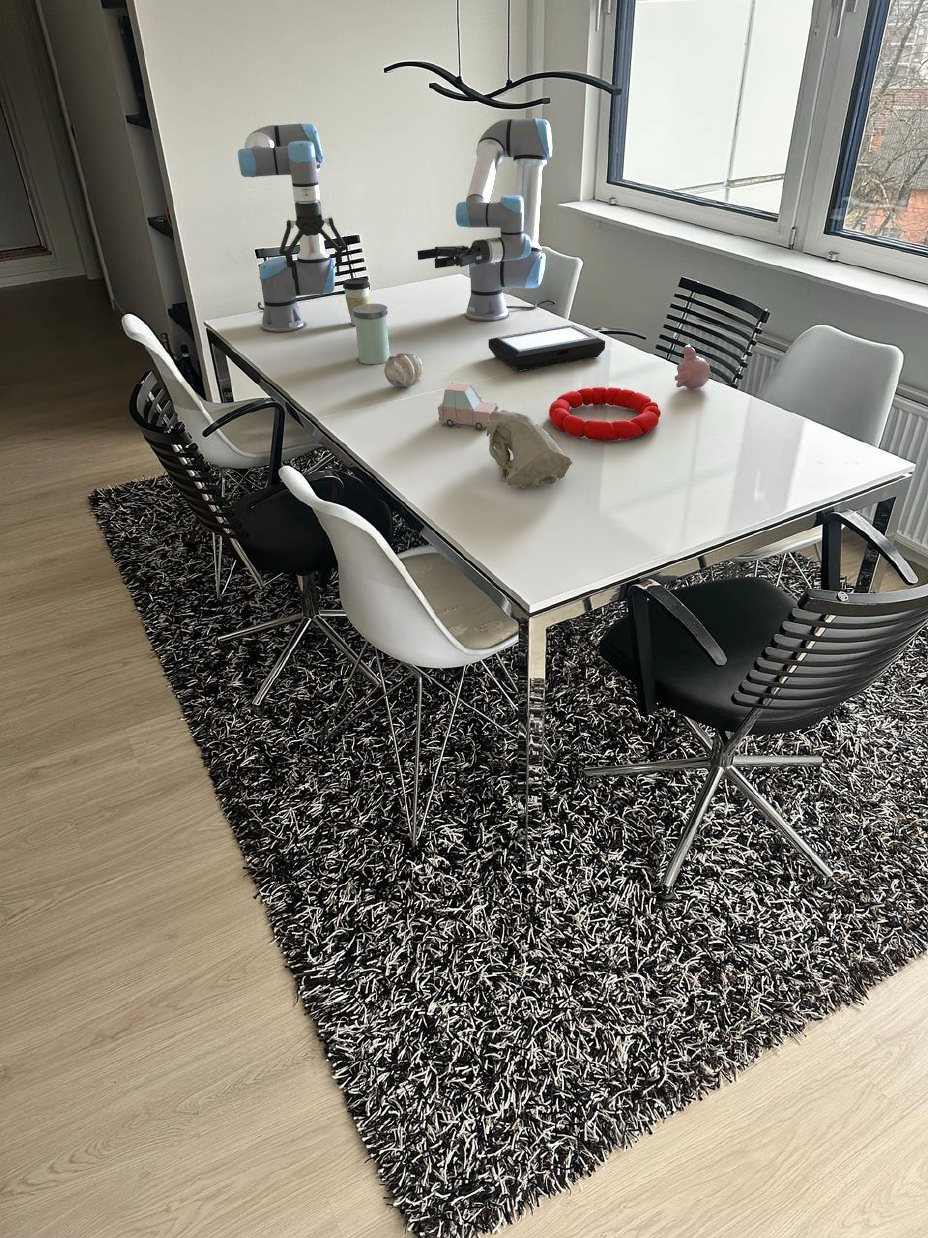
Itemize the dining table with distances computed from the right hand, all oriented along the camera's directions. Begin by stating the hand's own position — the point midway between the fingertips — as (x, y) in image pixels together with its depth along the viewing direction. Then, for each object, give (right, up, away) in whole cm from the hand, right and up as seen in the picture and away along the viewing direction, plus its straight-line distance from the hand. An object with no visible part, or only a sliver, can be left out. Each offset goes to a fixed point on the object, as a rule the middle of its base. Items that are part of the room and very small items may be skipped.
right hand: (426, 259), depth 284 cm
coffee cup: (-26, -6, +43) cm, 51 cm away
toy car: (+13, -61, -38) cm, 73 cm away
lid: (-18, -16, +1) cm, 24 cm away
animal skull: (+26, -78, -63) cm, 104 cm away
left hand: (-33, -10, -11) cm, 36 cm away
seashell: (-6, -44, -12) cm, 46 cm away
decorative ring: (+50, -61, -40) cm, 88 cm away
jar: (-18, -29, +10) cm, 35 cm away
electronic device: (+39, -30, +6) cm, 49 cm away
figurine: (+79, -47, -21) cm, 94 cm away
